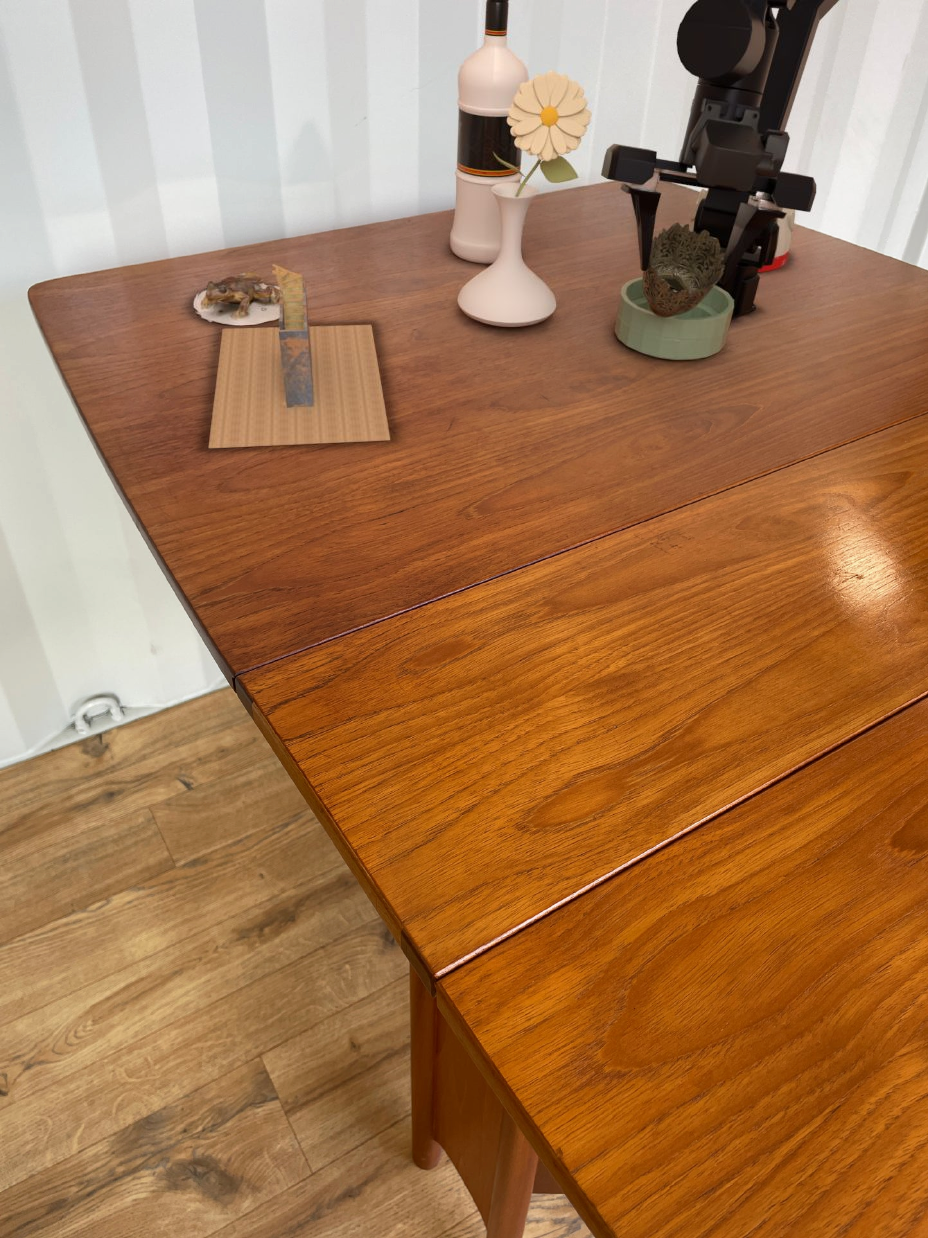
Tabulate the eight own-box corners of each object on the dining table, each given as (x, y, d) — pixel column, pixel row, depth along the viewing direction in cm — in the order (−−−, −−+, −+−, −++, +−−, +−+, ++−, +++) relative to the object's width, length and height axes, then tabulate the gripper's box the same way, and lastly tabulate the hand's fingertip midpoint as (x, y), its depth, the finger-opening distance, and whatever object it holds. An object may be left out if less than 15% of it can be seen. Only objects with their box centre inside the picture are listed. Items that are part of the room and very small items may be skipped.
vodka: (478, 271, 113) (491, -17, 93) (435, 248, 119) (439, -29, 99) (533, 257, 118) (557, -21, 98) (490, 235, 123) (504, -32, 103)
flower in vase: (441, 324, 101) (446, 70, 84) (478, 289, 109) (489, 50, 92) (550, 347, 98) (579, 88, 81) (580, 309, 106) (611, 65, 89)
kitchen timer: (785, 241, 125) (817, 122, 115) (788, 277, 115) (824, 150, 105) (685, 230, 127) (708, 112, 117) (680, 264, 117) (705, 139, 107)
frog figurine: (252, 335, 97) (247, 301, 95) (169, 310, 101) (163, 276, 99) (316, 300, 105) (313, 268, 102) (236, 277, 109) (232, 245, 106)
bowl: (591, 335, 101) (597, 291, 97) (660, 308, 107) (668, 266, 103) (676, 375, 94) (686, 330, 91) (745, 344, 100) (756, 301, 97)
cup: (707, 291, 93) (736, 241, 86) (684, 347, 91) (712, 301, 84) (641, 263, 93) (665, 210, 86) (617, 319, 91) (639, 270, 84)
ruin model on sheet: (222, 328, 98) (209, 237, 92) (371, 324, 101) (368, 235, 94) (208, 448, 80) (190, 345, 74) (390, 440, 82) (388, 339, 76)
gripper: (638, 68, 70) (596, 275, 78) (866, 107, 71) (802, 308, 79) (620, 73, 80) (584, 256, 88) (821, 107, 81) (767, 285, 89)
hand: (682, 276), depth 86 cm, fingers closed on cup, 7 cm apart
